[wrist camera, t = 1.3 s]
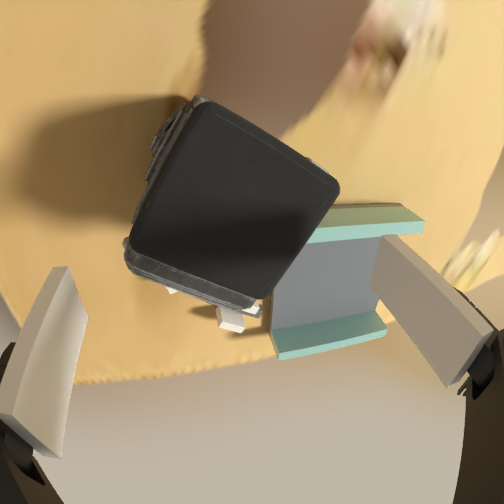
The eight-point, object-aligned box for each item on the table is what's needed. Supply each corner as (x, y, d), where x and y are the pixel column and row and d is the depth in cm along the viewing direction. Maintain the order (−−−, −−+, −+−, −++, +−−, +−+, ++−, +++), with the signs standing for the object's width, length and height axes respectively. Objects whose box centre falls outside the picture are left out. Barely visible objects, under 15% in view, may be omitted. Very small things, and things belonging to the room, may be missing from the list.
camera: (130, 188, 26) (87, 285, 13) (184, 87, 22) (181, 81, 10) (224, 231, 30) (256, 342, 18) (281, 143, 27) (367, 201, 14)
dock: (276, 207, 30) (292, 229, 26) (399, 203, 33) (424, 220, 29) (268, 332, 39) (278, 360, 35) (369, 313, 42) (385, 335, 38)
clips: (151, 262, 30) (149, 278, 28) (184, 231, 29) (184, 246, 27) (230, 320, 37) (234, 338, 34) (261, 297, 36) (267, 314, 33)
